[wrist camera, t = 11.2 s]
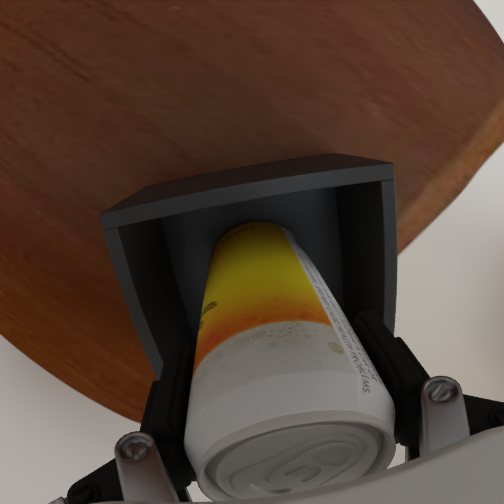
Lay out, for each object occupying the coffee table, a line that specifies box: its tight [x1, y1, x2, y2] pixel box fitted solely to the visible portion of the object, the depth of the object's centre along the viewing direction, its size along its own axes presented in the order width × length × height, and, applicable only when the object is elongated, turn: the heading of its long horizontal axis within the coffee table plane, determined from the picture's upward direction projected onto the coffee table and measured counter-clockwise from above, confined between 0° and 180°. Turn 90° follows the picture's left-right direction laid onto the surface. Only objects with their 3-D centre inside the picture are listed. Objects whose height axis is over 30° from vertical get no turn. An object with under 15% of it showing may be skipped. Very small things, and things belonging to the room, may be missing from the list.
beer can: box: [184, 221, 396, 501], centre depth 14 cm, size 6×6×15 cm
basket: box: [99, 153, 397, 381], centre depth 18 cm, size 12×12×8 cm
